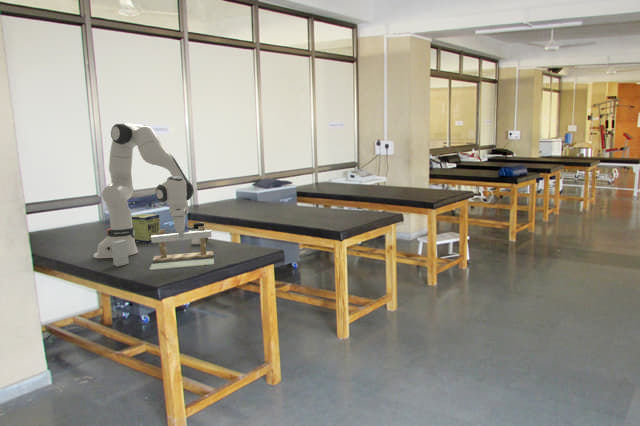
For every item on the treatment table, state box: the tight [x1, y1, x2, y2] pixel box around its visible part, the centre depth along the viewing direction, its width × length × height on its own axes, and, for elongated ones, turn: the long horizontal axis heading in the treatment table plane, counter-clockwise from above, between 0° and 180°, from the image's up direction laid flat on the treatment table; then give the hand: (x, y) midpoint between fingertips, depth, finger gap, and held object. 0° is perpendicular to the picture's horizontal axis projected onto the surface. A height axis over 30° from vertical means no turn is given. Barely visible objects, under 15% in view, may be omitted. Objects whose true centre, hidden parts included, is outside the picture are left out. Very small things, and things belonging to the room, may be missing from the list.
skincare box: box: [111, 240, 130, 267], centre depth 253 cm, size 6×4×12 cm
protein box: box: [132, 213, 161, 244], centre depth 309 cm, size 10×16×16 cm
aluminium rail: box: [151, 229, 212, 244], centre depth 248 cm, size 28×3×3 cm, turn 103°
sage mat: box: [149, 258, 215, 271], centre depth 250 cm, size 30×10×1 cm, turn 103°
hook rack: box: [152, 225, 215, 263], centre depth 264 cm, size 30×8×15 cm, turn 103°
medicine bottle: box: [191, 221, 209, 245], centre depth 297 cm, size 7×7×12 cm
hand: (181, 238), depth 248 cm, fingers closed on aluminium rail, 3 cm apart
